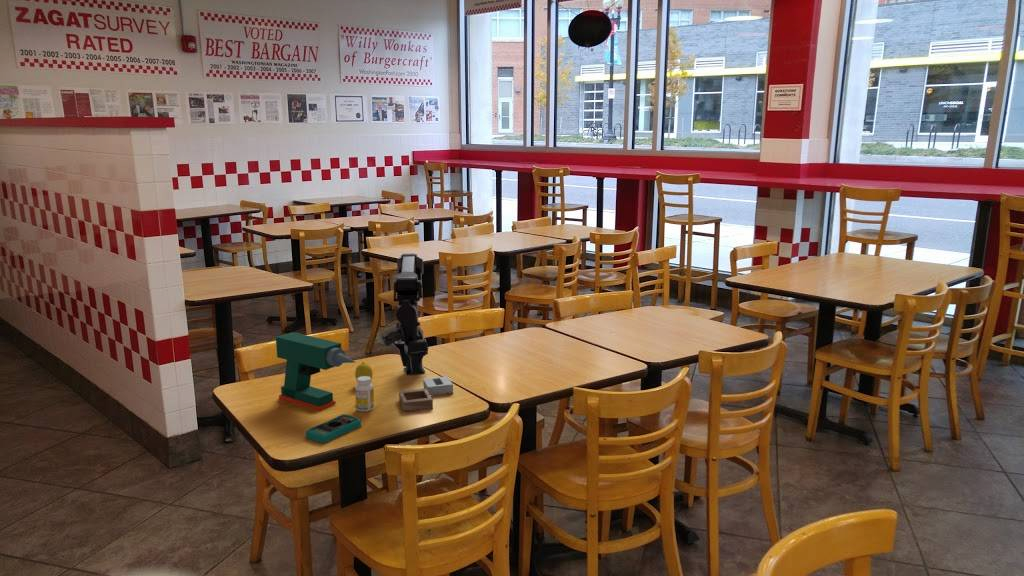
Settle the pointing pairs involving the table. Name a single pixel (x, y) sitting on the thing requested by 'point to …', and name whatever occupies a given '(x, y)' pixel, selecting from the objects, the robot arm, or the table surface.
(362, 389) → the supplement bottle
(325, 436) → the digital multimeter
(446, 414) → the table surface
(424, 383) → the grey slot block
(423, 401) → the walnut socket block
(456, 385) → the table surface
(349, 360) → the power tool
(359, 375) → the lemon
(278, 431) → the table surface
